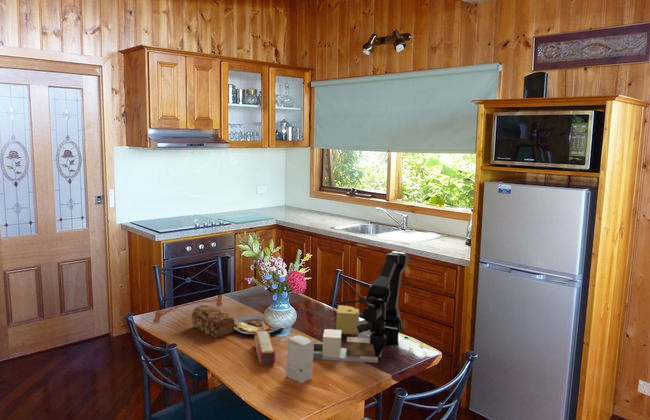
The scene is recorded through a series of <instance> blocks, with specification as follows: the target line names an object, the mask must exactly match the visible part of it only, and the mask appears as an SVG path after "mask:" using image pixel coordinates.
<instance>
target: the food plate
mask: <svg viewBox="0 0 650 420" xmlns="http://www.w3.org/2000/svg"><path fill="white" fill-rule="evenodd" d="M263 315H264V314H249V315H242V316H240V317H235V318H234V331H237V332H239V333H241V334H244V335H250V336H251V335H253V336H254V335H255V333H256V332H258V331H267V332H269V334H271V333H275V332H274V331H270V328H269V327H268V326H267V325H266V324H265V322H264V321H263ZM247 323H248V324H247Z"/></svg>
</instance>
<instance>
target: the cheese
mask: <svg viewBox="0 0 650 420" xmlns="http://www.w3.org/2000/svg"><path fill="white" fill-rule="evenodd" d="M359 321H360V309H359V308H355V307H353V306H349V305H341V304H339V305H338V306H337V311H336V328H335V330H342V333H341V335H342V334H344V335H359V332H358V330H357V326H356V323H357V322H359Z"/></svg>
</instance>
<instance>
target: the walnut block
mask: <svg viewBox="0 0 650 420" xmlns="http://www.w3.org/2000/svg"><path fill="white" fill-rule="evenodd" d="M346 348H347V350H346V355H358V356H375V351H374V346H373V345H372V344H371V343H370V337H369V338H368V337H354V336H347V337H346ZM382 353H383V350H382V351H381V352H380V354H379V356H378V358H382Z"/></svg>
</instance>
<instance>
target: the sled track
mask: <svg viewBox="0 0 650 420" xmlns="http://www.w3.org/2000/svg"><path fill="white" fill-rule="evenodd" d="M341 333H342V330H336V329H328V328H327V329H326V328H325V329H324V330H323V335H322V343H320V342H319V343H316V342H314V353H313V360H327V361H330V360H331V361H342V362H344V361H345V362H362V363H375V364H377V363H378V362H379V357H375V356H358V355H346V350H347V347H342V334H341Z"/></svg>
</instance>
